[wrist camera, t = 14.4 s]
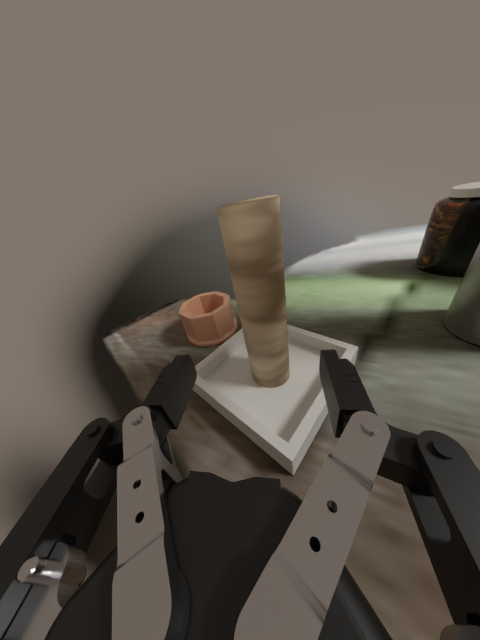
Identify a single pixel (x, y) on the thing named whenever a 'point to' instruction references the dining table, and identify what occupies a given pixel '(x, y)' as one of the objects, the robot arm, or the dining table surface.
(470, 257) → the jar
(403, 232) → the dining table surface
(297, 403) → the grey tray
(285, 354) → the wood rod
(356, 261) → the dining table surface
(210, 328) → the sleeve cup
